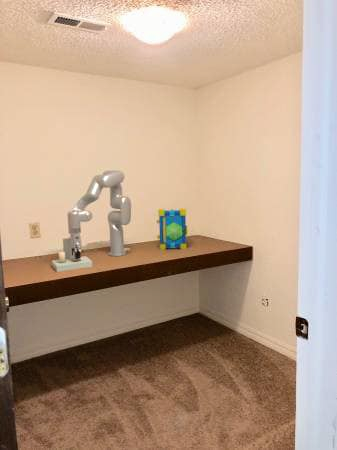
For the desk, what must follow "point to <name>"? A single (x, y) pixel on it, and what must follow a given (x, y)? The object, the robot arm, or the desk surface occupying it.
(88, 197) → the robot arm
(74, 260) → the peg
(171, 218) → the decorative book
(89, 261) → the board
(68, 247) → the skincare box
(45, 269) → the desk surface
